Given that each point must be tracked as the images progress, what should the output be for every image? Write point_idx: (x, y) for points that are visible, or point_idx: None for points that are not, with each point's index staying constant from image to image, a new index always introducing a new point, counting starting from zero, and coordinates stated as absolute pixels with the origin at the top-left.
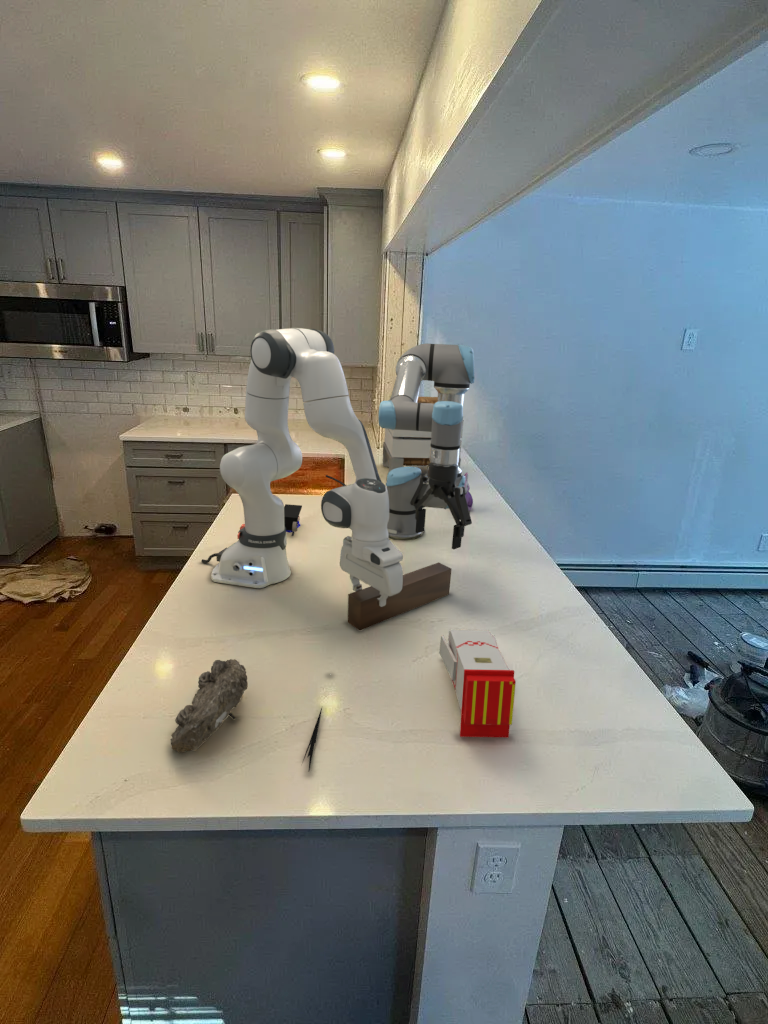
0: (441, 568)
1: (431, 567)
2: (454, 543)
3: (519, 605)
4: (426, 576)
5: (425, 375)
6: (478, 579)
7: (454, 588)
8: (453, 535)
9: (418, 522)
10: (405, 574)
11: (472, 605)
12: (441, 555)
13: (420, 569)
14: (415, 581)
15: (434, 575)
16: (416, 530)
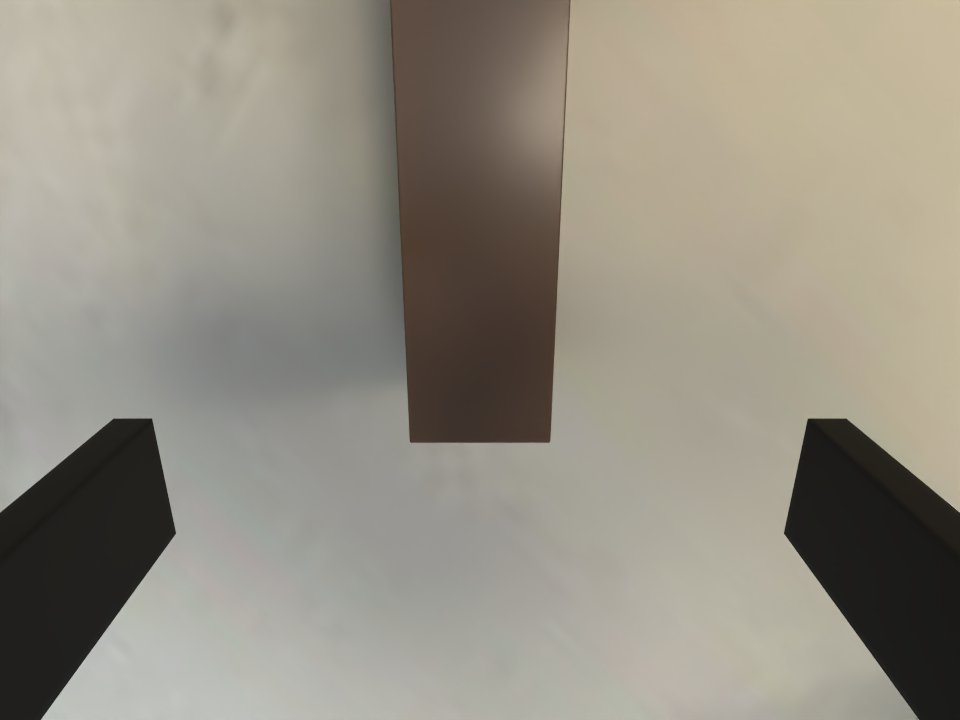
0: (456, 383)
1: (517, 333)
2: (60, 465)
3: None
4: (416, 174)
5: None
6: (459, 597)
7: None
8: (3, 537)
9: (907, 522)
10: (560, 35)
11: (258, 371)
12: (784, 646)
13: (547, 230)
14: (397, 9)
15: (401, 253)
16: (847, 435)
